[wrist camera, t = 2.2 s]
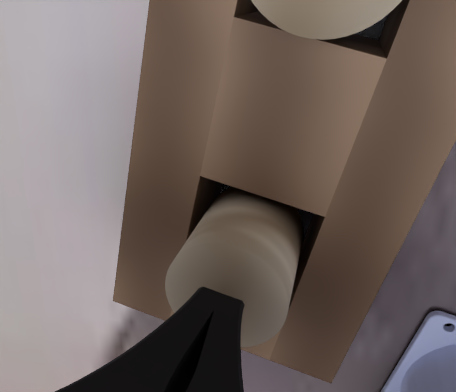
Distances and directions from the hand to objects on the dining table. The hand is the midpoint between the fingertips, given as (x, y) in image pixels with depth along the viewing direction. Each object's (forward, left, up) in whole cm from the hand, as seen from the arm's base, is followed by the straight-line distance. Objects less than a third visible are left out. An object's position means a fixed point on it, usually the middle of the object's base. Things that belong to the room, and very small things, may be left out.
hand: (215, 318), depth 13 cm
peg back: (0, 0, -5) cm, 5 cm away
